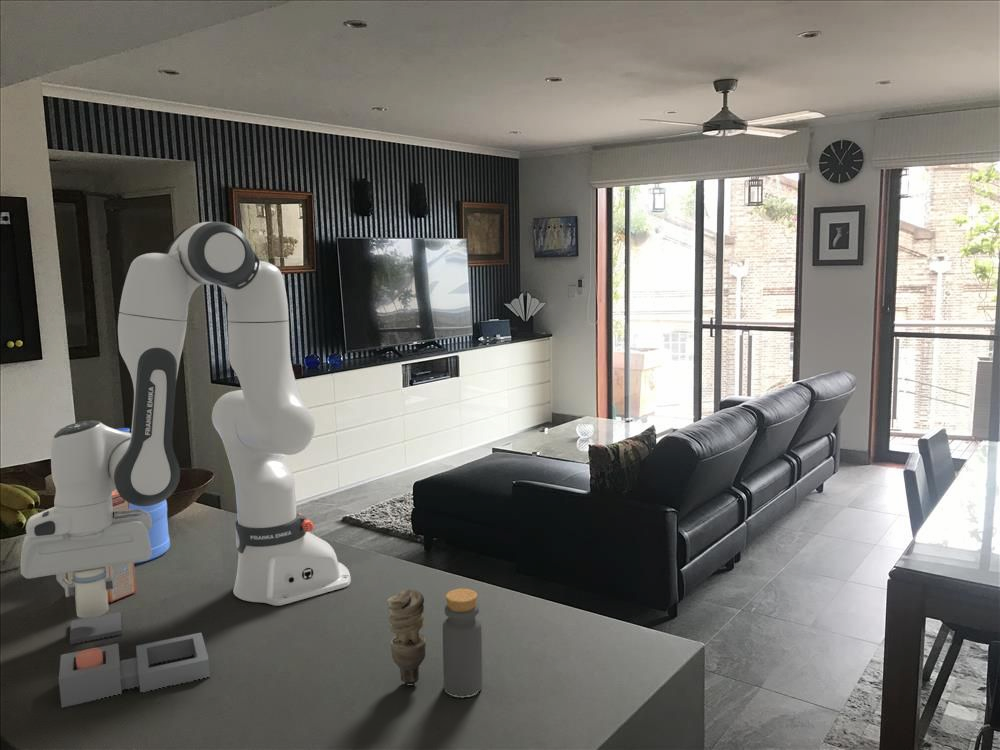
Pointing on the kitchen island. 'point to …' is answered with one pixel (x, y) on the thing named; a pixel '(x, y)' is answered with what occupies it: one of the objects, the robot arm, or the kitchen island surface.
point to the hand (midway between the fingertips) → (91, 591)
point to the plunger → (89, 658)
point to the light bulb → (407, 633)
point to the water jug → (155, 524)
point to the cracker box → (127, 574)
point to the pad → (95, 628)
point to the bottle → (462, 643)
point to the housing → (133, 669)
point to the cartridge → (90, 592)
